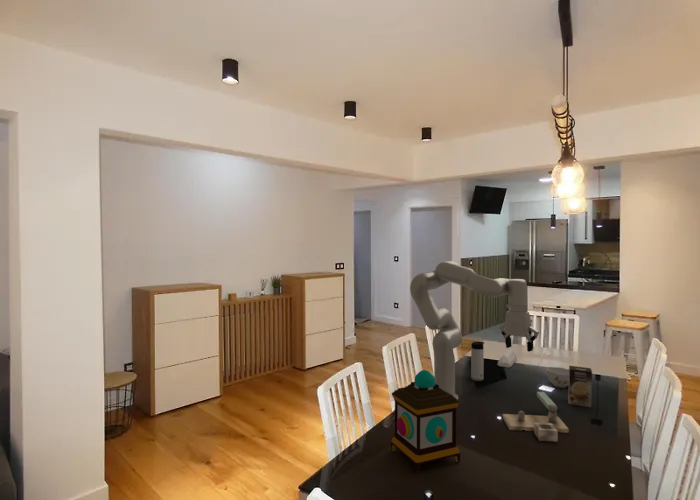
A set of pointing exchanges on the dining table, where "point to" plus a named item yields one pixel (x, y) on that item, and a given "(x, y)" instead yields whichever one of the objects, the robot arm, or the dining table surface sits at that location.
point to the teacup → (558, 376)
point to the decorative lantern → (425, 421)
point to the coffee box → (580, 386)
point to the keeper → (547, 401)
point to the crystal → (507, 358)
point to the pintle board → (533, 421)
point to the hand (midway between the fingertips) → (519, 349)
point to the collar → (545, 432)
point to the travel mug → (477, 361)
